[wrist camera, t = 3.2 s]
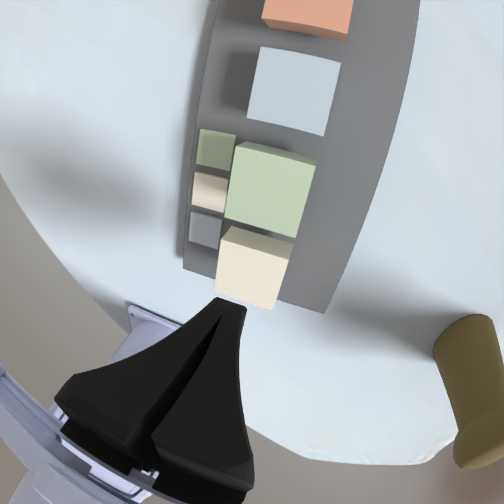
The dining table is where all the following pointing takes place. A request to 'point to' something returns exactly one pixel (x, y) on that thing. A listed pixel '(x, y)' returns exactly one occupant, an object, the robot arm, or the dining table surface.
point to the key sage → (269, 187)
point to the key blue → (293, 90)
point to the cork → (473, 389)
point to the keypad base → (300, 137)
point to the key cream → (251, 267)
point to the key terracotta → (310, 16)
